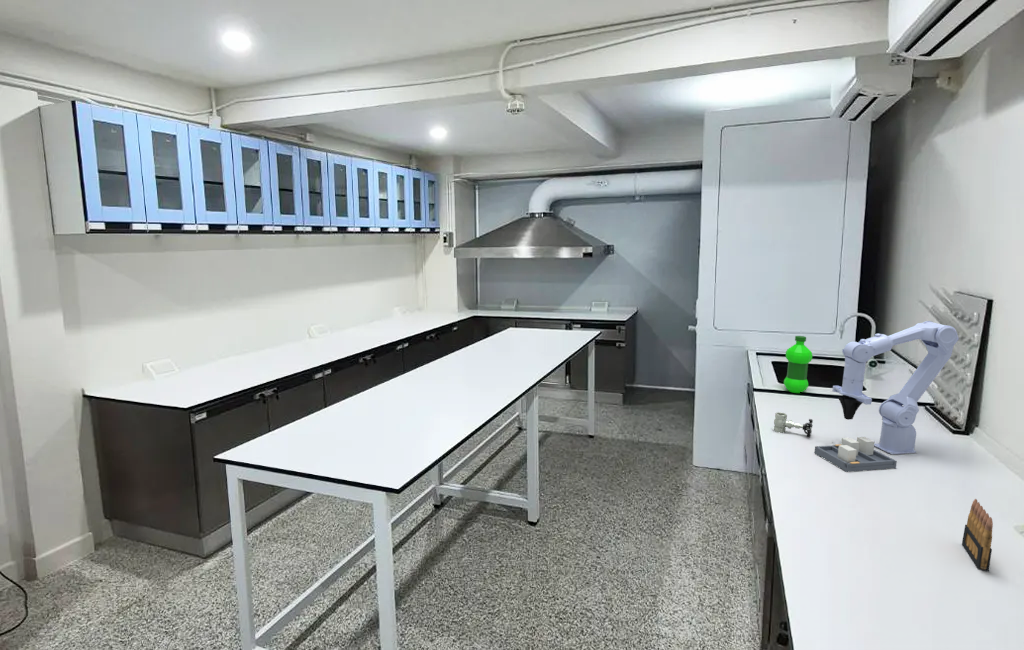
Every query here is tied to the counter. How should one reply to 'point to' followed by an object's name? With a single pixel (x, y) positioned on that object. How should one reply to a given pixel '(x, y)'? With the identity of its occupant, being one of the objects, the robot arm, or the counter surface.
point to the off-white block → (851, 443)
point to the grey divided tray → (861, 460)
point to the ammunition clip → (978, 536)
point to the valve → (790, 424)
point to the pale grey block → (866, 445)
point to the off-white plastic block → (847, 453)
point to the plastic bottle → (797, 366)
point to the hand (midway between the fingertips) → (848, 418)
